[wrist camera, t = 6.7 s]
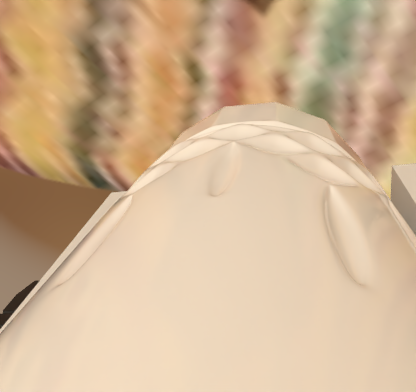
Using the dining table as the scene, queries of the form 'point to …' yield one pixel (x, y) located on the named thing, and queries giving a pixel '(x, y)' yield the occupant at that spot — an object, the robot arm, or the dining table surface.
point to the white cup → (231, 274)
